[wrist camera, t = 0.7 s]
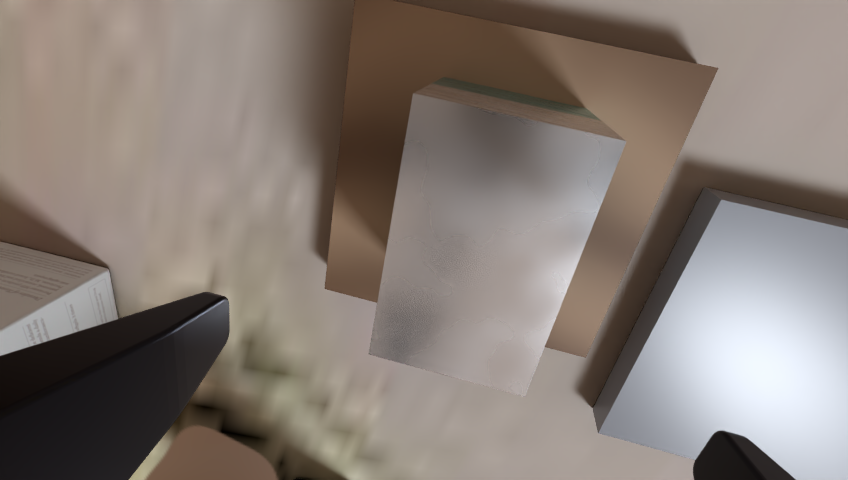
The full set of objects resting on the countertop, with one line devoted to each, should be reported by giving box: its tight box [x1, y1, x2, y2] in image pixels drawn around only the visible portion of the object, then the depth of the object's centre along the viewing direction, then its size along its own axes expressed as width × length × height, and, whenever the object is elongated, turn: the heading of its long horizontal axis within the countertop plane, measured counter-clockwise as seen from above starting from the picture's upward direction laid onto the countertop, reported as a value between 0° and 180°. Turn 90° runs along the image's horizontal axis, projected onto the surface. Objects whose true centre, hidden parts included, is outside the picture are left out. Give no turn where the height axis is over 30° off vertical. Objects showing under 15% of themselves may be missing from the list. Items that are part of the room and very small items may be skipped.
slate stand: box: [593, 187, 848, 480], centre depth 18 cm, size 12×12×2 cm
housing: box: [369, 77, 626, 397], centre depth 14 cm, size 8×5×6 cm, turn 169°
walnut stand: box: [325, 0, 718, 358], centre depth 17 cm, size 12×12×2 cm
